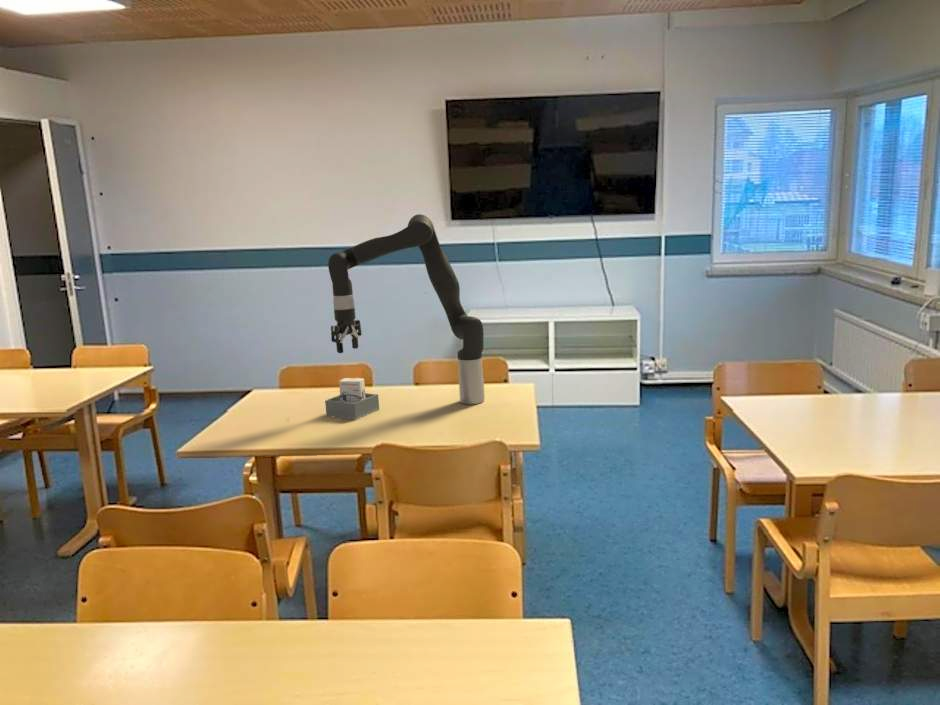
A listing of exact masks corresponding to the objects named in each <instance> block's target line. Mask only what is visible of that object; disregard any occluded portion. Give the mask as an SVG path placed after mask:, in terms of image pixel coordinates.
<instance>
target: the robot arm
mask: <svg viewBox="0 0 940 705" xmlns="http://www.w3.org/2000/svg"><path fill="white" fill-rule="evenodd" d="M437 236H438V235H437V233H436V230H435V227H434V224H433V222H432V220H431V219H430V218H429V217H428V216H427V215H424V214H419V213H418V214H415V215H414V216H412V217H411V218H410V219H409V221H408V223H407V226H406V227H405V228H403V229H401V230H400V231H398V232H395V233H393V234H389V235H386V236H380V237H375V238H371V239H367V240H366V241H363V242H360V243H358V244H356V245H354V246H353V247H350V248H346V249H344V250H342V251H339V252H336V253H333V254H331V255H330V256H329V258H328V262H327V265H328V268H327V269H328V273H329V276H330V281H331V282H332V283H331V284H332V295H333V297H332V298H333V302H332V304H333V315H334V321H335V322H336V325H331V326H330V331H331V333H330V335H331V336H330V338H331V342H332V343H335V345H336V352H337V353H338V354H343V353H344V343H343V341H344V339H345V338H346V336H349V335H350V337H351V346H352V349H359V337H360V336H362V327H361V326H362V325H361V321H360V319H356V308H355V299H354V298H355V297H354V295H353V294H354V292H353V291H354V290H353V284H352V280H351V279H350V278H349V277H350V276H349V270H350V269H352V268H355V267H356V266H359V265H362V264H366V263H368V262H371V261H373V260H376V259H378V258H381V257H383V256H387V255H389V254H392V253H395V252H399V251H401V250H405V249H411V248H415V247H418V248H419V250H420V252H421V254H422V256H423V261H424V264H425V269H426V272H427V275H428V279H429V281H430V283H431V285H432V287H433V289H434V291H435V293H436V295H437V297H438V299H439V301H440V303H441V306H442V307H443V310H444V313H445V314H446V317H447V320H448V323H449V326H450V328H451V331H452V333H453V335H454V336H455V337H456V339H457V338H458V339H459V340H461V341H462V340H463V341H462V344H463V345H462V349H459V350H458V351H457V367H458V368H457V370H458V371H457V372H458V387H459V402H460V403H461V404H464V405H477V404H481V403H483V402H484V401H485V385H484V383H485V382H484V378H485V377H484V373H483V350H484V338H485V337H484V335H485V334H484V325H483V323H482V320H481V319H480V318H478V317H475V316H470V315H468V314H467V313H466V311H465V310H464V307H463V305H462V303H461V298H460V297H461V296H460V295H461V293H460V292H461V291H460V289H461V288H460V283H459V280H458V277H457V276H456V274H455V271H454V269H453V267H452V265H451V263H450V261H449V259H448V257H447V256H446V254H445V252H444V250H443V248H442V247H441V244H440V241H439V239H438V237H437Z"/></svg>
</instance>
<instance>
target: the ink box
mask: <svg viewBox="0 0 940 705" xmlns="http://www.w3.org/2000/svg"><path fill="white" fill-rule="evenodd" d="M338 382H339V384H338V385H339V395H340V400H341V402H348V403H356V402H359V401H361V400H363V399H366V397H365V393H366V386H365V378H363V377H352V378H351V377H344V378H341V380H338Z"/></svg>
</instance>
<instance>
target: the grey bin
mask: <svg viewBox="0 0 940 705" xmlns="http://www.w3.org/2000/svg"><path fill="white" fill-rule="evenodd" d="M365 397H366V399H363V400H361V401H359V402H356V403H348V402H341V400H340V394H339V395H337V396H333V397H332V398H328V399H325V400H324V401H325V402H324V403H325V415H326V417H329V416H334V417H333V418H337V417H341V418H340V419H344V418H349V419H348V420H352V419H357V420H360V419H361V418H360V417H362V418H364V417H366V416H368V415H367V414H369V415H371V414H373V413H375V412H377V410H378V411H379V410H380V400H379V394H378V393H369V392H368V393H367V392H365ZM374 411H375V412H374ZM372 412H373V413H372ZM370 413H371V414H370ZM365 415H366V416H365ZM363 416H364V417H363ZM359 418H360V419H359Z"/></svg>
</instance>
